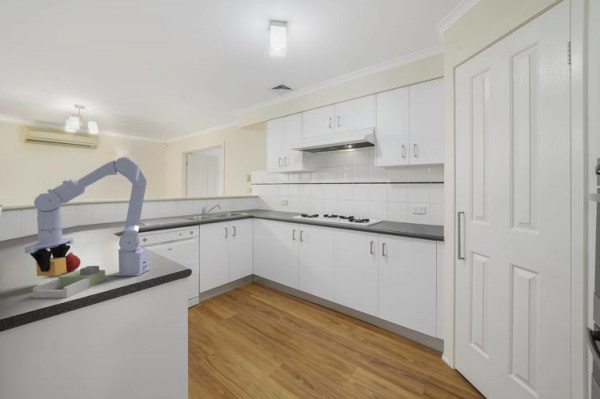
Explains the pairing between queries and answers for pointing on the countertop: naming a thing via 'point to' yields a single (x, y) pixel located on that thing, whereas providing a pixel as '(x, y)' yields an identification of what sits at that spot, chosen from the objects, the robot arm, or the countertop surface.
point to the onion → (72, 262)
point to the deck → (70, 283)
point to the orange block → (53, 267)
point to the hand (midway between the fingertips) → (52, 269)
